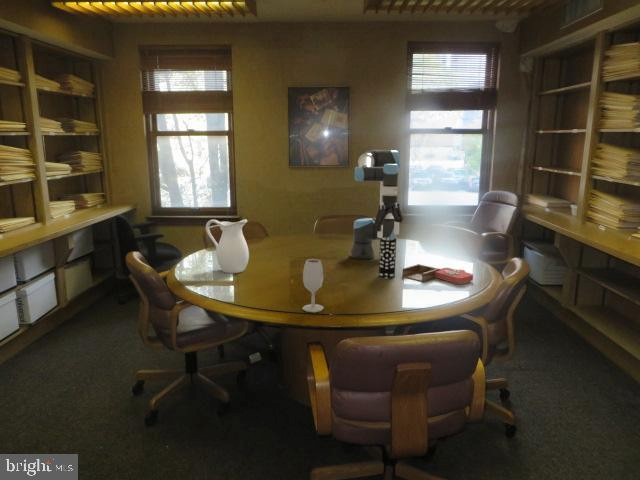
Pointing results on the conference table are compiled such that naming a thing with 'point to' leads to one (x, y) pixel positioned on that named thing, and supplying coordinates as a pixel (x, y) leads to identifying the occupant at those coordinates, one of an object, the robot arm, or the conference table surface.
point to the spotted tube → (387, 257)
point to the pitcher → (231, 246)
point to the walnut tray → (419, 272)
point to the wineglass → (313, 282)
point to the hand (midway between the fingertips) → (388, 236)
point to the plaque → (454, 275)
